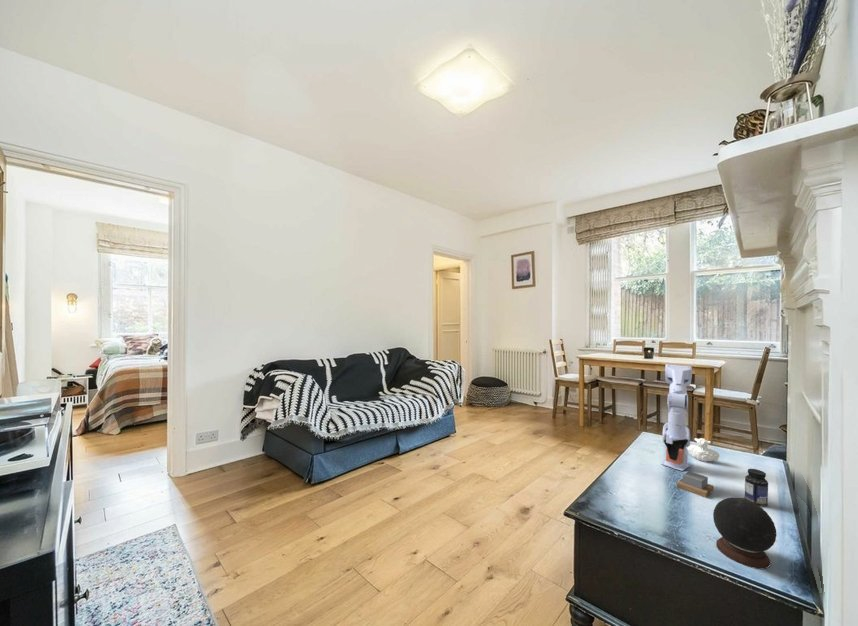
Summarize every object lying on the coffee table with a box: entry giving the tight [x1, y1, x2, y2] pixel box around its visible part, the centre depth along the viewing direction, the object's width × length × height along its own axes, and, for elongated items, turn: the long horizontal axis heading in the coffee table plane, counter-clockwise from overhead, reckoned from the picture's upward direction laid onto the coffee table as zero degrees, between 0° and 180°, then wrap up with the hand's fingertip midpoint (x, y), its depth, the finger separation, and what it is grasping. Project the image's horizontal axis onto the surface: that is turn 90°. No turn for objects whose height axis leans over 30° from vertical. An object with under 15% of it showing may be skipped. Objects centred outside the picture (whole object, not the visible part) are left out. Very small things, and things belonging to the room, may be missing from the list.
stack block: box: [665, 447, 684, 465], centre depth 140 cm, size 4×4×5 cm
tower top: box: [682, 470, 709, 489], centre depth 135 cm, size 6×6×3 cm
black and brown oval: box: [712, 496, 777, 569], centre depth 98 cm, size 13×13×15 cm
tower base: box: [676, 478, 714, 499], centre depth 134 cm, size 9×9×2 cm
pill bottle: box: [744, 468, 769, 507], centre depth 126 cm, size 6×6×11 cm
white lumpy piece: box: [686, 437, 720, 463], centre depth 161 cm, size 12×8×11 cm
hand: (675, 457), depth 140 cm, fingers closed on stack block, 4 cm apart
